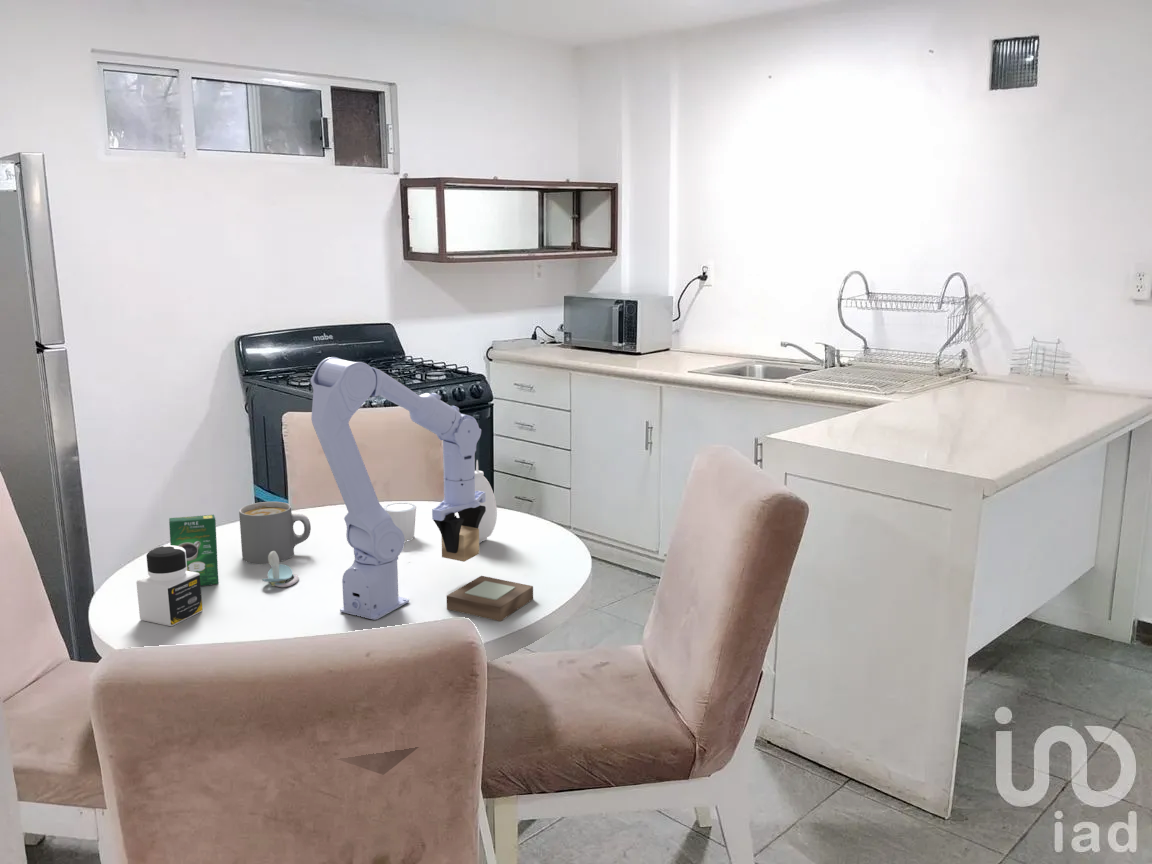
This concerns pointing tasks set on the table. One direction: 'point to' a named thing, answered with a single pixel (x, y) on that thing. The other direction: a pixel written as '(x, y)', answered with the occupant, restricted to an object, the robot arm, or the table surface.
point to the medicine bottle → (168, 588)
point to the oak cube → (464, 545)
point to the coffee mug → (270, 531)
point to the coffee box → (197, 545)
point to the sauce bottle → (486, 505)
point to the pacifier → (279, 572)
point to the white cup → (403, 517)
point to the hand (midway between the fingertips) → (460, 547)
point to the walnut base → (490, 598)
